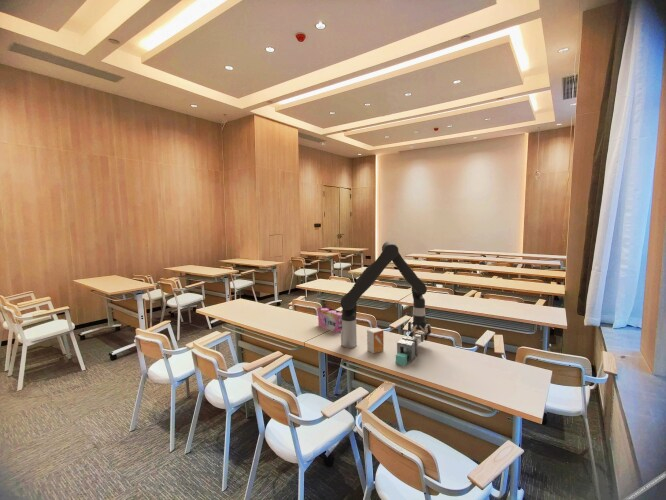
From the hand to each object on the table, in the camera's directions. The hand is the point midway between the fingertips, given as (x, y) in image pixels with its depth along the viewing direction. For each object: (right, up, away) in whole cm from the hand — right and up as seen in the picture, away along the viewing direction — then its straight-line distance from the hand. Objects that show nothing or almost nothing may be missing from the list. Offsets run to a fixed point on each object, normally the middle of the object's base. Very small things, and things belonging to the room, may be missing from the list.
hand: (419, 339), depth 196 cm
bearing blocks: (-12, -6, -17) cm, 21 cm away
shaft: (-6, -2, -9) cm, 11 cm away
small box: (-29, -5, -7) cm, 30 cm away
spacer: (-16, -4, -23) cm, 28 cm away
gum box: (-56, -3, +37) cm, 68 cm away
